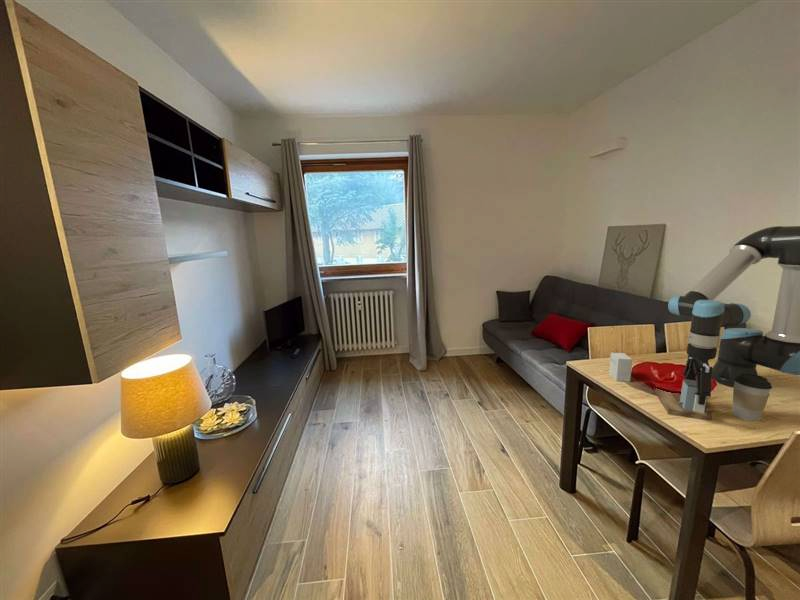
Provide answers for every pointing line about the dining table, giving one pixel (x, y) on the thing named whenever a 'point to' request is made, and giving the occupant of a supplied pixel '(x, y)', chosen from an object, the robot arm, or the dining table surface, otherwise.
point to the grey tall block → (688, 394)
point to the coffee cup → (750, 396)
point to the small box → (620, 367)
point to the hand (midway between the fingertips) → (692, 404)
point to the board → (674, 408)
